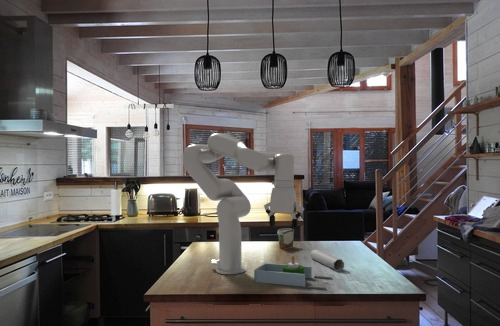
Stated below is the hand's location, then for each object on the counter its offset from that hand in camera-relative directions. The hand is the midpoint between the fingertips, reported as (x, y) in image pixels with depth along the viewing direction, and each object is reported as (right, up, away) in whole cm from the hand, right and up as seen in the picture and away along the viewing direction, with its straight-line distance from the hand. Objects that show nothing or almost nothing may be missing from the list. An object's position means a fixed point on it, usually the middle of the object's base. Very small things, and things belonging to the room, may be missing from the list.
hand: (283, 227), depth 166 cm
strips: (+14, -20, -6) cm, 25 cm away
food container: (+5, -21, +60) cm, 64 cm away
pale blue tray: (0, -21, -1) cm, 21 cm away
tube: (+21, -21, +24) cm, 38 cm away
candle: (+4, -21, -3) cm, 21 cm away
